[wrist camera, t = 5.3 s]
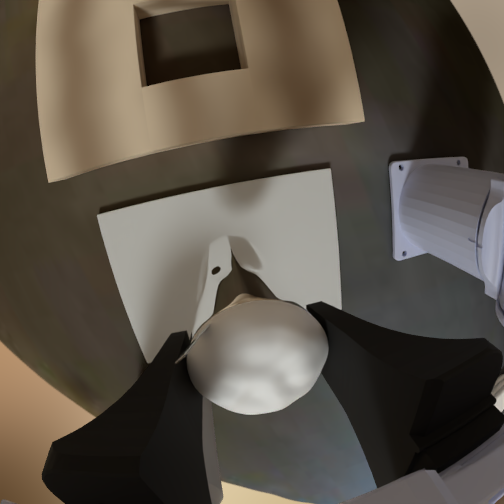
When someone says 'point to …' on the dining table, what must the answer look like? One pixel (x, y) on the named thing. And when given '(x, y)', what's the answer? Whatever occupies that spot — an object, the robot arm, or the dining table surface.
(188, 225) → the grey mat
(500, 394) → the white ridged disc
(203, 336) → the milkshake
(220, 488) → the beverage can
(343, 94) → the pocket holder
